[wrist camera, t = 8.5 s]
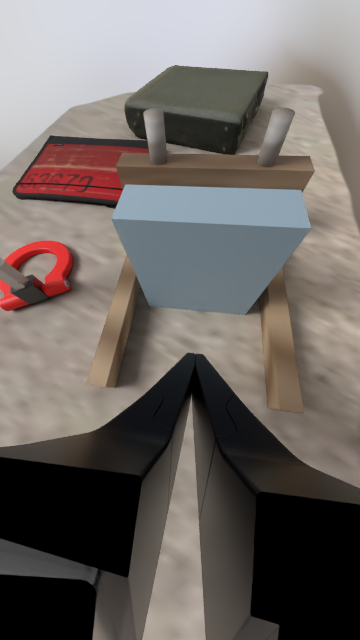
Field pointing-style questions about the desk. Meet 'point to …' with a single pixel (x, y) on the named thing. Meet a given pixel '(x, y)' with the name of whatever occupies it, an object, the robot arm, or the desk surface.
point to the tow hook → (29, 287)
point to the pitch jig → (225, 174)
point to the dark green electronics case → (200, 106)
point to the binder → (77, 170)
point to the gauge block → (208, 242)
